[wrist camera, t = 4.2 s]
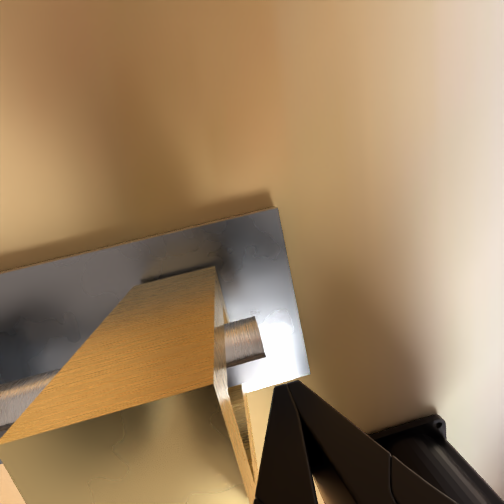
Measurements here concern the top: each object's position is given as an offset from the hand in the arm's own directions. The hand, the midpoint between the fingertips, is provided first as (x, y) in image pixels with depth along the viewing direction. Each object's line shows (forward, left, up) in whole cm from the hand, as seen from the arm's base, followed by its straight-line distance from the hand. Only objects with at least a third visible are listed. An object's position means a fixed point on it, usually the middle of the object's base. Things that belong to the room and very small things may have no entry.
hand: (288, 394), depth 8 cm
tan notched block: (+4, 0, -6) cm, 7 cm away
